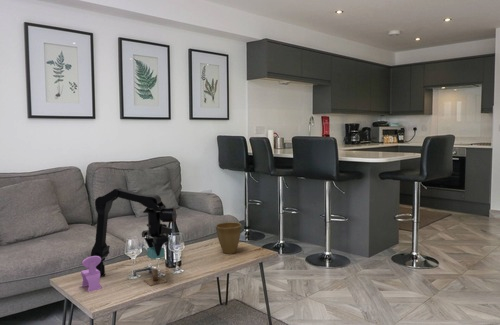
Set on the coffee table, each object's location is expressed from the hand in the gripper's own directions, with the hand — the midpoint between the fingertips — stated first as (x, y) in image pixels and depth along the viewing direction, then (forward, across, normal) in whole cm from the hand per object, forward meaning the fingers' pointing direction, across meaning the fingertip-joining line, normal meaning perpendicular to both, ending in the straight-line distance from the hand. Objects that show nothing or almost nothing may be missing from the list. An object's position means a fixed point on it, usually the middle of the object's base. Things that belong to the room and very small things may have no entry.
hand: (155, 254), depth 194 cm
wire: (+12, +7, +3) cm, 14 cm away
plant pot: (+12, +15, -51) cm, 55 cm away
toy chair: (+12, +7, +28) cm, 31 cm away
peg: (+12, -4, +2) cm, 13 cm away
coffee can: (+12, +27, -18) cm, 35 cm away
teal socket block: (+1, 0, 0) cm, 1 cm away
